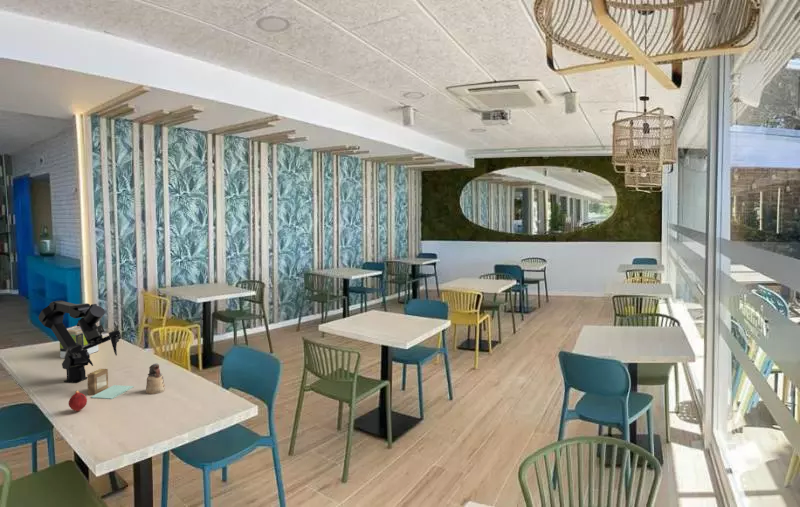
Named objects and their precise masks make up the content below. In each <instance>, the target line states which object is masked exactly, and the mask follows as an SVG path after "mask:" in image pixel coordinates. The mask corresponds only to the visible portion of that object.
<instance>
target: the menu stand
mask: <svg viewBox="0 0 800 507" xmlns="http://www.w3.org/2000/svg"><path fill="white" fill-rule="evenodd" d="M108 370H109V369H108V368H98V369H95V370H94V371H91V372H89V373H87V376H86V377H87V395H88V396H94V395H95V394H97V393H99V392H101V391H103V390H105V389H107V388H109V372H108Z"/></svg>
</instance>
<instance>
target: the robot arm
mask: <svg viewBox="0 0 800 507" xmlns="http://www.w3.org/2000/svg"><path fill="white" fill-rule="evenodd" d="M65 314H69V317H70V318H73V319H78V322H77V323H76V326H77V327H78V326H80V328H81V330H82V332H83V334H84V336H85V338H86V340H87V343H88V344H87V345H83V344H82V345H77V344H76V342H75V341H74V339H73V338H72V336H71V335H70V333H69V332H68V330H67V327H66V326H65V324H64V323H63V322H64V321H63V320H64V316H65ZM105 314H106V310H105V308H103V307H101V306H100V305H98V304H97V303H93V304H90V303H87V302H86V303H72V302H67V301H65V300H62V299H61V300H56V301H51V302H50V303H49V304H48V305H47V306H46V307H45V308H43V309H42V310H41V311H40V313H39V315H38V321H39V322H40V323H41V324H42V325H43V326H44V327H45V328H48V329H49V330H50V329H51V331H52V333H53V334H54V335H55V337H56V339H57V340H58V342H59V344H60V343H61V345H62V347H63V348H64V350H65V351H66V353H65V358H64V360H63V361H62V363H61V367H62V369H63V370H66V379H65V380H63V381H64V383H75V384H76V383H80V382H82V381H84V380H88V377H87V376H86V374H87V373H86V368H85V366H88V365H89V364H90V366H92V367H93V366H94V364H93V362H92V360H91V357H90V355H91V354H89V353H88V352H87V351H88V350H87V349H89V348H92V347H94V346H96V345H98V346H99V345H101V344H104V343H106V342H109V341H110V342H111V346H112V349H113V352H114V355H115V356H116V357H117V356H118V353H117V344H118V342H119V341H120V340H121V339H122V334H121V332H120V330H119V329H115V330H112V331H110V332H108V335H106V336H104V337H103V335H102V333H104V332H106V331H105V329H104V327H103V325H102V324H100V325H97V324H98V323H99V321H100V320H101V319H102V318H103V317H104V315H105Z"/></svg>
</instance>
